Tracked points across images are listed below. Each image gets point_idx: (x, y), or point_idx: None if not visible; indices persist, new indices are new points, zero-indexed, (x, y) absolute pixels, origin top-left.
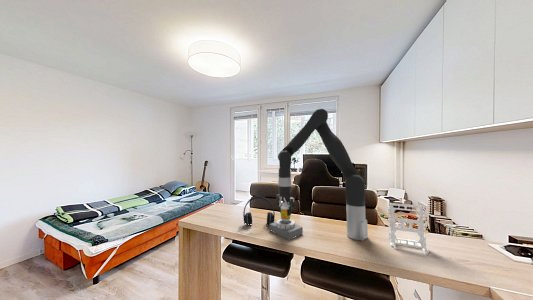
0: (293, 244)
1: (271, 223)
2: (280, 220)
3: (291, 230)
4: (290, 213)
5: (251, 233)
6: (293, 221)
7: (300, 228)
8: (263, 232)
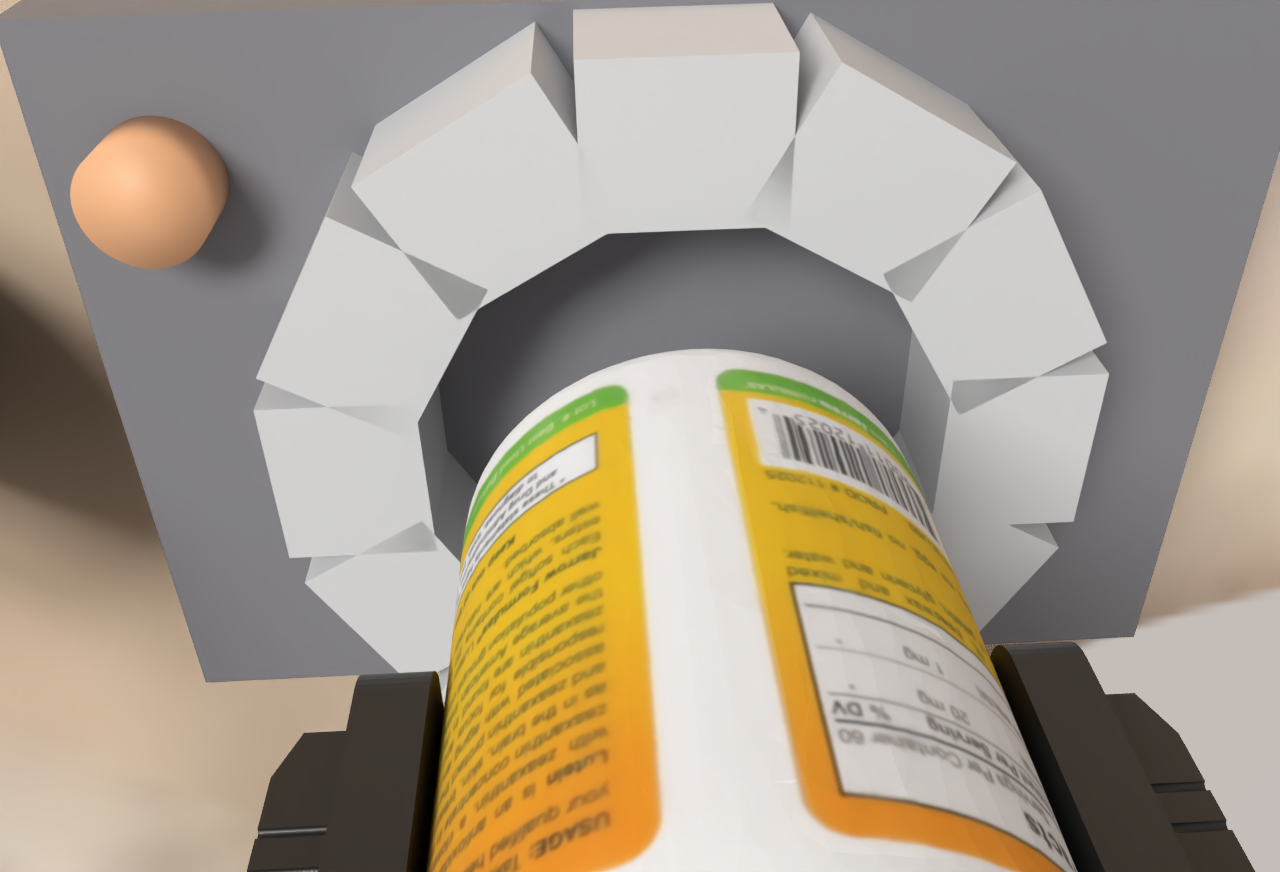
0: (1257, 546)
1: (211, 626)
2: (417, 516)
3: (1120, 507)
4: (1152, 783)
5: (181, 864)
6: (917, 177)
7: (1276, 109)
8: (276, 684)
